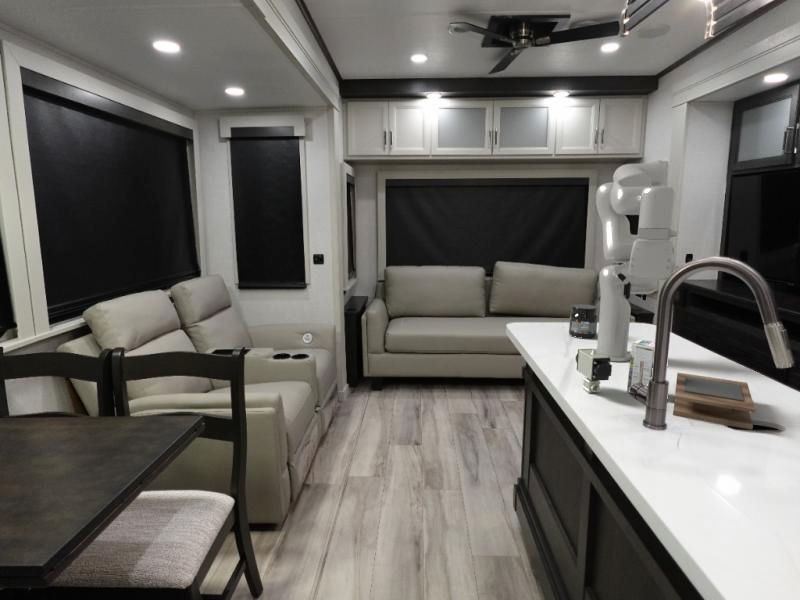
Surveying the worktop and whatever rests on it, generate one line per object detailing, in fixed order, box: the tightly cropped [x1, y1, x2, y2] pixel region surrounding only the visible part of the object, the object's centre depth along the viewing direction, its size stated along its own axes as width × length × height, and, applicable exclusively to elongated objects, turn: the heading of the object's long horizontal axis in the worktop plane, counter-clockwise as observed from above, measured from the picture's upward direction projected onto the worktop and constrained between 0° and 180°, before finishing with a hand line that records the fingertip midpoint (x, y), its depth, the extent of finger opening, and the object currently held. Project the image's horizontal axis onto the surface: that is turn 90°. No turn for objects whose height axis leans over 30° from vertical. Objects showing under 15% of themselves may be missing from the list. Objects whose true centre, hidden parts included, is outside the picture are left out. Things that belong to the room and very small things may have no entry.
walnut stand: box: [672, 371, 756, 431], centre depth 123 cm, size 20×16×5 cm
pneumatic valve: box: [575, 348, 613, 394], centre depth 134 cm, size 6×12×12 cm, turn 7°
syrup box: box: [626, 339, 656, 393], centre depth 132 cm, size 6×6×14 cm
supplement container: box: [568, 303, 599, 339], centre depth 193 cm, size 10×10×12 cm
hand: (647, 300), depth 128 cm, fingers open, 9 cm apart
